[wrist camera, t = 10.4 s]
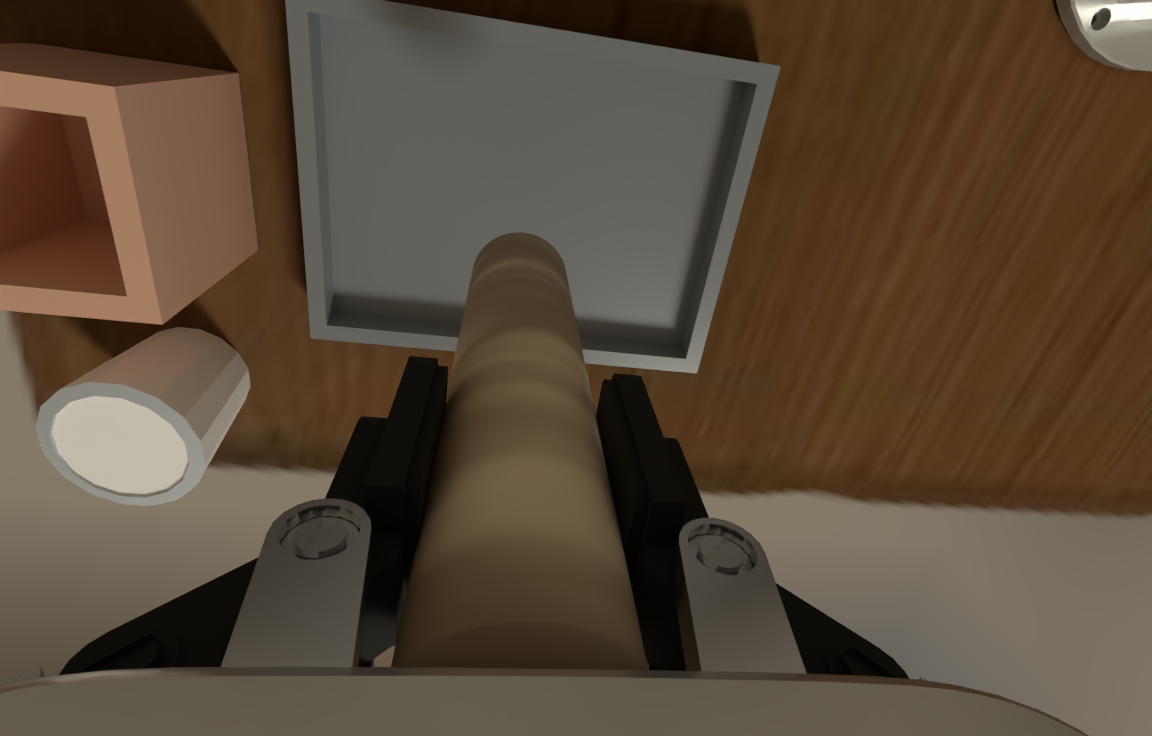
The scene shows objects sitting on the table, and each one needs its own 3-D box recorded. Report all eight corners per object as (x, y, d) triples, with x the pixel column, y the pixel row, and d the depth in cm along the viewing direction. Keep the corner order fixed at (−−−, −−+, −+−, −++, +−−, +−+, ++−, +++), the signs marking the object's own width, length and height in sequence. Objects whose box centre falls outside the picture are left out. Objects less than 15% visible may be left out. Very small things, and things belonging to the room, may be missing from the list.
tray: (760, 64, 27) (780, 66, 25) (685, 352, 34) (696, 373, 32) (305, -12, 25) (284, -17, 23) (325, 317, 32) (310, 338, 30)
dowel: (510, 212, 19) (492, 578, 6) (585, 271, 20) (706, 686, 7) (453, 286, 20) (331, 736, 7) (527, 337, 21) (542, 807, 8)
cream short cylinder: (128, 299, 30) (28, 364, 24) (269, 336, 32) (208, 406, 26) (126, 408, 33) (37, 490, 27) (255, 437, 35) (198, 520, 29)
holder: (238, 72, 26) (114, 86, 18) (258, 249, 30) (162, 324, 22) (35, 43, 25) (-191, 44, 17) (82, 230, 29) (-85, 302, 21)
